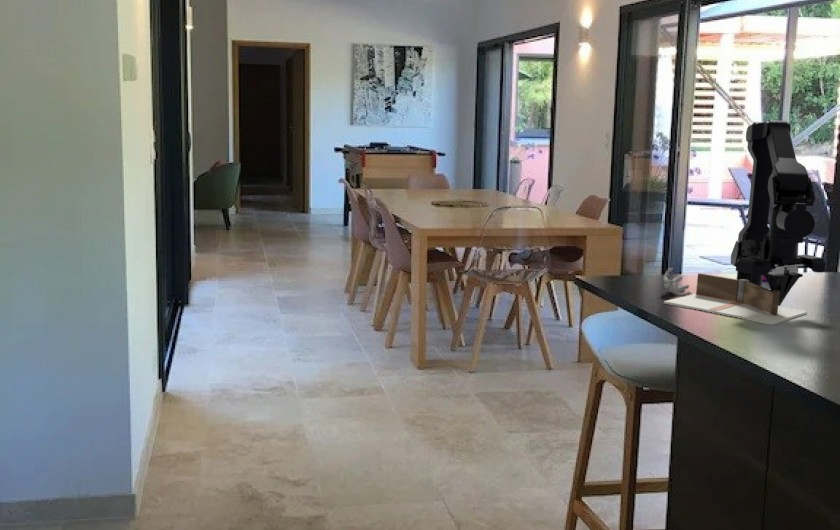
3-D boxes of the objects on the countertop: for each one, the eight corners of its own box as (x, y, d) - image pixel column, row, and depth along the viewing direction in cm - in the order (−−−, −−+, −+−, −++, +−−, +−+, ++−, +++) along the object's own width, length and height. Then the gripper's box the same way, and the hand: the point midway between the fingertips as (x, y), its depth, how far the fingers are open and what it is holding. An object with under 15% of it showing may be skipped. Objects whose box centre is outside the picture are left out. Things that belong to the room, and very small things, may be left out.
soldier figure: (697, 296, 206) (691, 288, 195) (680, 308, 207) (673, 301, 196) (677, 270, 209) (670, 261, 198) (660, 282, 210) (652, 274, 199)
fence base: (699, 293, 201) (701, 272, 200) (748, 302, 193) (750, 280, 192) (694, 294, 199) (696, 272, 199) (744, 303, 191) (746, 281, 190)
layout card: (701, 294, 202) (702, 292, 202) (806, 314, 186) (807, 311, 186) (663, 303, 191) (664, 300, 190) (772, 325, 174) (772, 322, 174)
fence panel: (742, 302, 191) (744, 279, 190) (747, 302, 191) (749, 279, 191) (773, 315, 179) (775, 291, 178) (778, 315, 180) (781, 291, 179)
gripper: (791, 225, 191) (784, 295, 194) (721, 227, 185) (715, 299, 188) (831, 232, 181) (823, 306, 184) (758, 235, 175) (751, 311, 177)
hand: (777, 305), depth 183 cm, fingers closed
